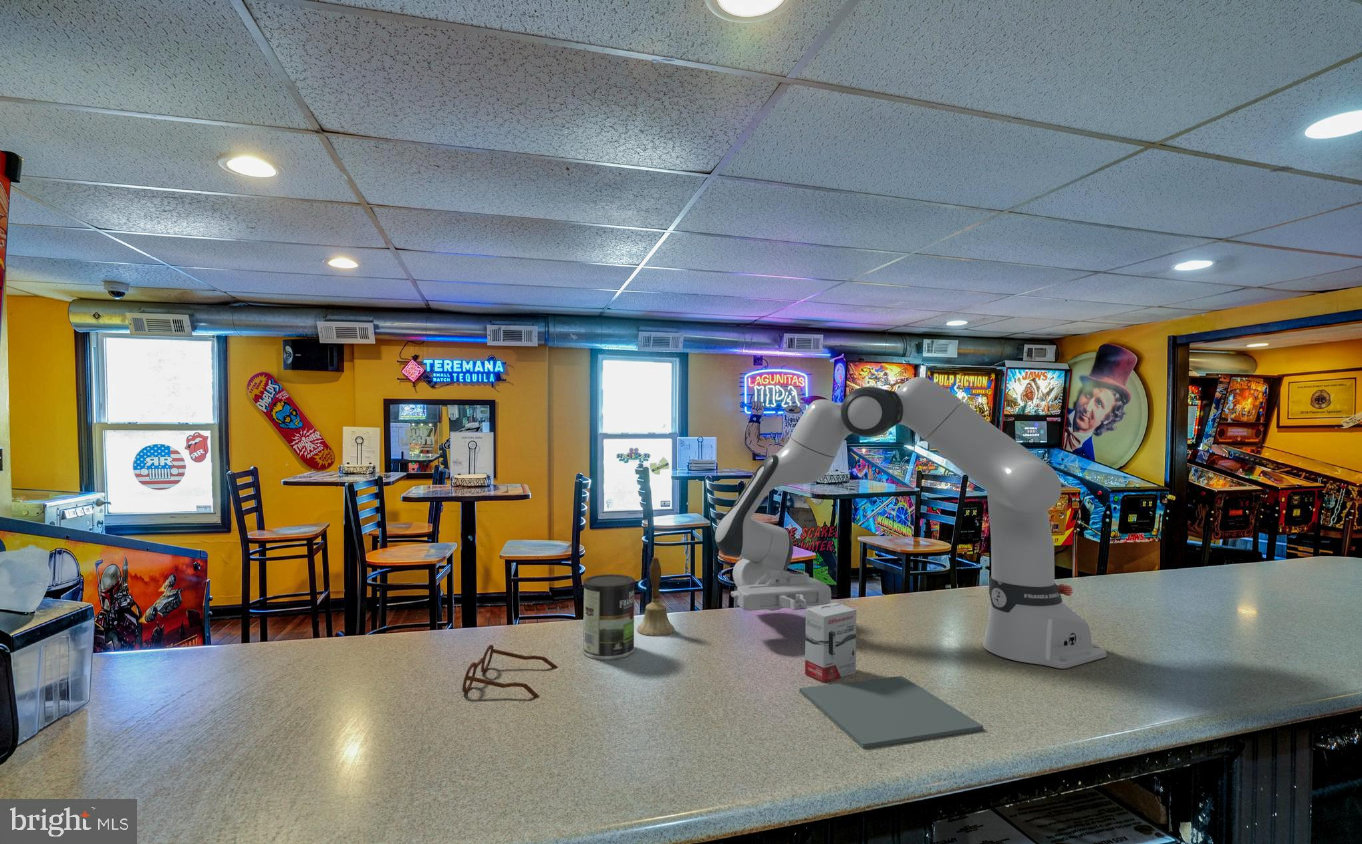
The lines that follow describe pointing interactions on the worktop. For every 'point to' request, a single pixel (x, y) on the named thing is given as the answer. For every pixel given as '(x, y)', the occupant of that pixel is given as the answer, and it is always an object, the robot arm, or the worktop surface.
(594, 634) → the coffee can
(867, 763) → the worktop surface
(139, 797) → the worktop surface
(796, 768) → the worktop surface
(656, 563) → the hand bell
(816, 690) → the rubber mat
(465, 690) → the glasses
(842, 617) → the ink box
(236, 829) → the worktop surface
